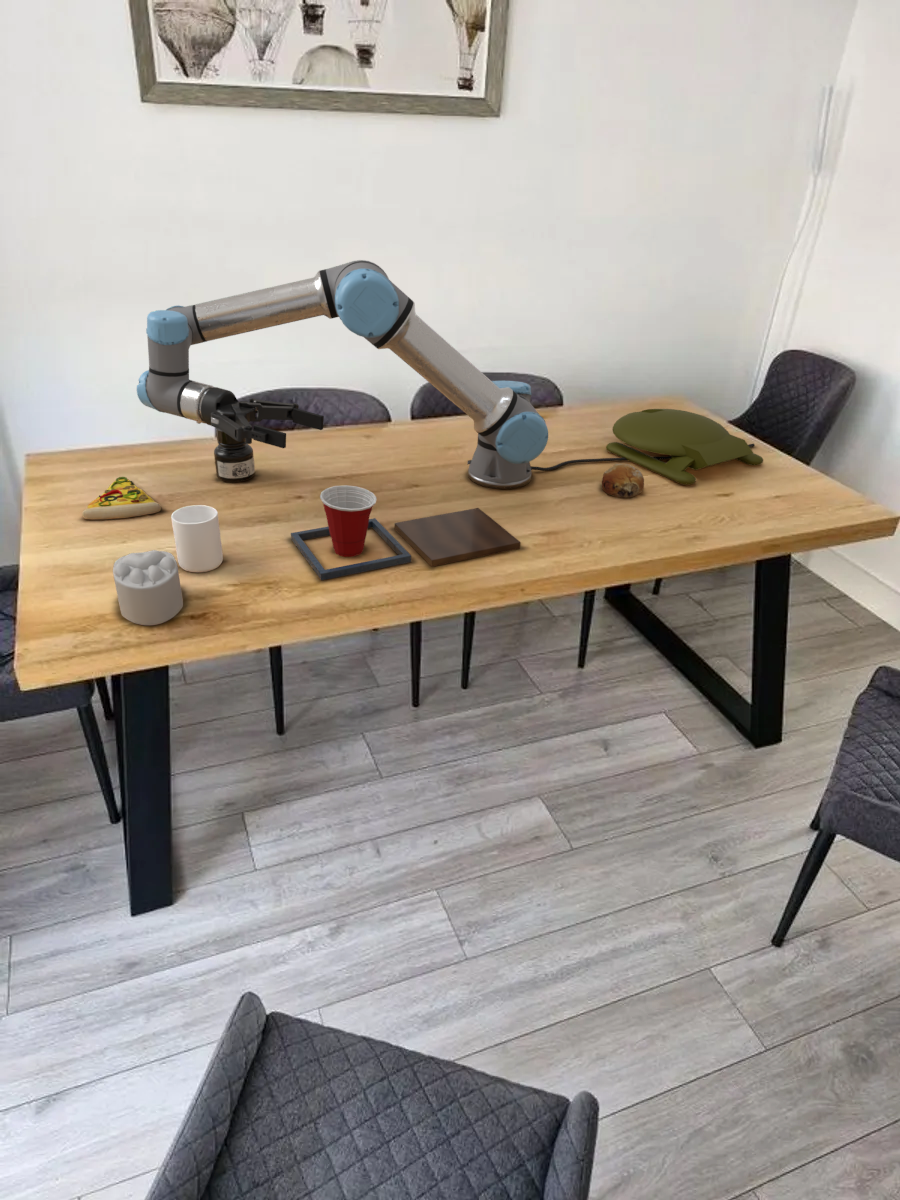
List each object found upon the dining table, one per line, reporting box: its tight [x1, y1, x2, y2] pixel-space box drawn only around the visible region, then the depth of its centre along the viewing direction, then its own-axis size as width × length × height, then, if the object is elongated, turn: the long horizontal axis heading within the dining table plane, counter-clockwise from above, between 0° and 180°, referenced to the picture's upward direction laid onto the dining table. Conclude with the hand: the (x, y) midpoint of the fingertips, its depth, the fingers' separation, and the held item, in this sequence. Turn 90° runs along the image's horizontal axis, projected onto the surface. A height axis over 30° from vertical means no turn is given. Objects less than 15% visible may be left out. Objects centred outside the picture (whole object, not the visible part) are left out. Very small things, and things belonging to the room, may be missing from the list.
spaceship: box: [605, 408, 764, 486], centre depth 214 cm, size 35×31×10 cm
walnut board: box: [393, 507, 521, 568], centre depth 169 cm, size 20×18×2 cm
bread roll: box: [601, 463, 645, 499], centre depth 194 cm, size 10×10×8 cm
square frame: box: [290, 517, 412, 581], centre depth 163 cm, size 18×18×2 cm
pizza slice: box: [81, 476, 162, 520], centre depth 179 cm, size 16×21×3 cm
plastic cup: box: [319, 484, 378, 558], centre depth 160 cm, size 11×11×12 cm
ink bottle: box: [213, 427, 256, 483], centre depth 190 cm, size 10×9×12 cm
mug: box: [170, 504, 224, 574], centre depth 155 cm, size 12×8×10 cm
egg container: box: [112, 549, 184, 626], centre depth 141 cm, size 10×13×9 cm
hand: (304, 431), depth 156 cm, fingers open, 13 cm apart
